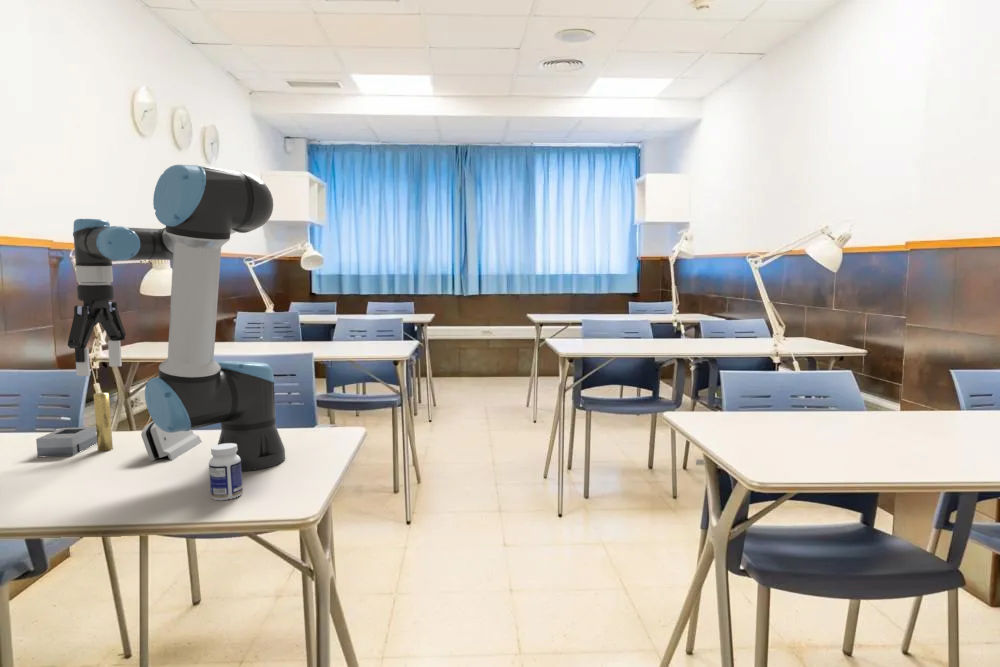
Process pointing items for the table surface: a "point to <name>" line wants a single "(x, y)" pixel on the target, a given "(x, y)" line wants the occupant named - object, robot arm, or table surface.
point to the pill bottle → (225, 472)
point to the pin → (103, 421)
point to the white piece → (167, 442)
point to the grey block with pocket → (66, 441)
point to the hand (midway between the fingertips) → (100, 370)
